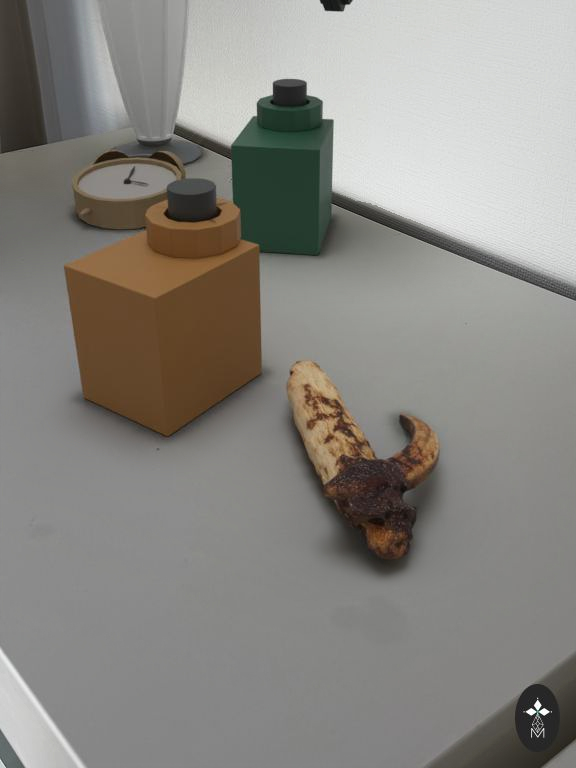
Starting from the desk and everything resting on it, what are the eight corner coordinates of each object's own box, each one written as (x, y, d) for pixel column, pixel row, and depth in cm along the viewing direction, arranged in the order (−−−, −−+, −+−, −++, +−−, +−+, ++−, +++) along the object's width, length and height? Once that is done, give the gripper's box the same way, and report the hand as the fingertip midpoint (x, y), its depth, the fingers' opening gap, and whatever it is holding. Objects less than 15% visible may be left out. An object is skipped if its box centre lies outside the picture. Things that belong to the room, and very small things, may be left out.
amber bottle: (189, 336, 68) (179, 187, 62) (271, 367, 64) (268, 211, 58) (83, 397, 60) (58, 235, 54) (167, 437, 56) (152, 266, 50)
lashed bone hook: (500, 557, 47) (386, 382, 62) (515, 490, 45) (393, 324, 59) (336, 584, 45) (258, 396, 60) (343, 515, 43) (260, 337, 57)
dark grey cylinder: (191, 205, 60) (189, 174, 58) (227, 215, 58) (225, 184, 57) (158, 219, 57) (156, 187, 56) (195, 230, 56) (193, 197, 55)
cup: (170, 136, 115) (157, -46, 103) (220, 157, 107) (212, -37, 96) (91, 152, 109) (68, -39, 97) (138, 175, 101) (119, -29, 90)
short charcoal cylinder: (276, 101, 84) (275, 78, 83) (308, 102, 83) (309, 79, 82) (270, 109, 81) (269, 85, 80) (304, 110, 81) (304, 87, 80)
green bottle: (257, 209, 92) (254, 92, 85) (332, 213, 90) (335, 95, 84) (234, 250, 82) (229, 122, 76) (318, 255, 81) (320, 126, 75)
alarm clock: (57, 201, 85) (93, 132, 96) (66, 244, 88) (100, 172, 100) (171, 204, 84) (193, 133, 96) (176, 247, 88) (197, 174, 99)
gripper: (298, -213, 70) (239, -31, 67) (459, -222, 66) (404, -27, 63) (322, -138, 77) (269, 31, 74) (469, -141, 73) (420, 39, 69)
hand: (331, 4), depth 68 cm, fingers closed
